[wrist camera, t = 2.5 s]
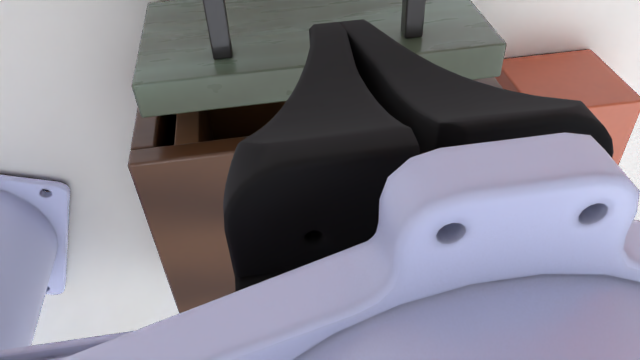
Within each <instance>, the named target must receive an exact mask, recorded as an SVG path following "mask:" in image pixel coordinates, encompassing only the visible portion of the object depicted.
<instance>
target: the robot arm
mask: <svg viewBox="0 0 640 360" xmlns="http://www.w3.org/2000/svg"><path fill="white" fill-rule="evenodd" d="M309 39H310V49H309V53H308V56H307V60H306V63H305V66H304V69H303V71H302V74H301V76H300V79H299V81H298V83H297V85H296V87H295V88H294V90H293V92H292V94H291V95H290V97H289V98H288V100H287V101H286V103H285V104H284V105H283V107H282V108H281V109H280V111H279V112H278V113H277V114H276V115H275V116H274V117H273V118H272V119H271V120H270V121H269V122H268V123H267V124H266V125H265V126H263V127H262V128H261V129H259V130H258V131H256V132H255V133H253V134H252V135H250V136H249V137H247V138H246V139H244V140H242V141H240V142H239V143H238V145H237V147H236V150H235V153H234V156H233V159H232V161H231V165H230V168H229V172H228V176H227V180H226V185H225V191H224V199H223V213H224V231H225V235H226V240H227V244H228V249H229V253H230V258H231V262H232V267H233V271H234V276H235V291H236V292H234V293H231V294H229V295H226V296H224V297H221V298H218V299H216V300H213V301H211V302H208V303H205V304H203V305H200V306H198V307H195V308H192V309H190V310H187V311H185V312H182V313H179V314H177V315H174V316H172V317H169V318H166V319H164V320H161V321H159V322H156V323H153V324H151V325H148V326H146V327H143V328H141V329H138V330H135V331H130V332H123V333H116V334H109V335H102V336H95V337H88V338H81V339H74V340H67V341H61V342H54V343H47V344H40V345H33V346H31V345H32V341H33V338H34V334H35V330H36V327H37V323H38V319H39V316H40V312H41V308H42V305H43V301H44V297H45V294H54V295H55V294H61V293H62V292H64V290H65V286H66V267H67V247H68V226H69V206H70V188H69V187H68V186H67V185H66V184H64V183H61V182H56V181H48V180H40V179H32V178H24V177H16V176H8V175H0V360H640V221H639V220H633V219H634V217H635V215H636V213H637V209H638V200H639V192H640V191H639V189H638V188H637V187H636V186H635V185H634V184H633V182H632V181H631V180H630V179H629V178H628V176H627V175H626V174H625V173H624V172H623V171H622V169H621V168H620V167H619V166H618V165H617V164H616V162H615V161H614V160H613V159H612V157H613V153H614V150H613V142H612V138H611V136H610V134H609V133H608V131H607V129H606V128H605V127H604V125H603V124H602V123H601V122H600V121H599V120H598V119H597V118H596V116H595V115H594V114H593V113H592V112H591V111H590V110H589V109H588V108H587V106H586V105H585V104H584V103H583V102H582V101H579V100H570V99H561V98H552V97H543V96H536V95H530V94H525V93H520V92H515V91H510V90H506V89H502V88H498V87H494V86H491V85H488V84H484V83H481V82H478V81H474V80H472V79H469V78H466V77H463V76H461V75H458V74H456V73H454V72H451V71H449V70H446V69H444V68H442V67H440V66H438V65H436V64H434V63H432V62H430V61H428V60H426V59H425V58H423V57H421V56H419V55H417V54H416V53H414V52H412V51H411V50H409V49H407V48H406V47H404V46H403V45H401V44H400V43H398V42H397V41H395V40H394V39H392V38H391V37H389V36H388V35H386V34H385V33H384V32H382V31H381V30H379V29H378V28H376V27H375V26H374V25H372V24H371V23H369V22H368V21H366V20H364V19H360V20H351V21H341V22H332V23H322V24H313V25H312V27H311V28H310V29H309ZM42 189H47V190H49V191H51V192H46V191H44V190H42Z"/></svg>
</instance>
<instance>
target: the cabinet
mask: <svg viewBox="0 0 640 360" xmlns="http://www.w3.org/2000/svg"><path fill="white" fill-rule="evenodd" d="M474 81H478V82H481V83H484V84H488V85H491V86H494V87H498V88H502V87H501V85H500V84H499V83H498V81H497V80H496V78H495V77H492V78H483V79H474ZM502 89H503V88H502ZM176 116H177V114H171V115H162V116H153V117H145V118H143V117H141V115H140V112H139V108H138V109H137V115H136V121H135V127H134V132H133V138H132V144H131V151H130V156H129V161H128V168H129V171H130V174H131V176H132V179H133V182H134V185H135V188H136V191H137V194H138V196H139V199H140V202H141V205H142V208H143V211H144V214H145V216H146V219H147V222H148V225H149V228H150V231H151V234H152V237H153V239H154V242H155V245H156V248H157V251H158V254H159V257H160V259H161V262H162V265H163V268H164V271H165V274H166V277H167V280H168V282H169V285H170V288H171V291H172V294H173V297H174V300H175V302H176V305H177V308H178V311H179V313H182V312H185V311H187V310H190V309H192V308H195V307H198V306H200V305H203V304H205V303H208V302H211V301H213V300H216V299H218V298H221V297H224V296H226V295H229V294H231V293H234V292H236V291H235V276H234V271H233V267H232V262H231V258H230V253H229V249H228V244H227V240H226V235H225V231H224V213H223V199H224V191H225V185H226V180H227V176H228V172H229V168H230V165H231V161H232V159H233V156H234V153H235V150H236V147H237V145H238V143H239V142H240V141H242V140H244V139H246V138H247V137H249V136H246V137H237V138H229V139H221V140H212V141H204V142H196V143H187V144H179V145H174V141H175V128H176Z"/></svg>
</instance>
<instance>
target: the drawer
mask: <svg viewBox="0 0 640 360" xmlns="http://www.w3.org/2000/svg"><path fill="white" fill-rule="evenodd" d="M360 19H364V20H366V21H368V22H369V23H371V24H372V25H374V26H375V27H376V28H378V29H379V30H381V31H382V32H384V33H385V34H386V35H388V36H389V37H391V38H392V39H394V40H395V41H397V42H398V43H400V44H401V45H403V46H404V47H406V48H407V49H409V50H411V51H412V52H414V53H416V54H417V55H419V56H421V57H423V58H425V59H426V60H428V61H430V62H432V63H434V64H436V65H438V66H440V67H442V68H444V69H446V70H449V71H451V72H454V73H456V74H458V75H461V76H463V77H466V78H469V79H472V80H474V79H483V78H492V77H499V76H500V75H501V70H502V65H503V59H504V54H505V49H506V43H505V41H504V40H503V39H502V38H501V37H500V35H499V34H498V33H497V32H496V31H495V29H494V28H493V27H492V26H491V25H490V23H489V22H488V21H487V20H486V19H485V17H484V16H483V15H482V14H481V13H480V11H479V10H478V9H477V8H476V7H475V5H474V4H473V3H472V2H471V1H470V0H173V1H163V2H153V3H148V6H147V11H146V16H145V21H144V26H143V31H142V36H141V41H140V46H139V51H138V57H137V62H136V67H135V72H134V77H133V82H132V89H133V92H134V95H135V99H136V102H137V105H138V108H139V112H140V115H141V117H143V118H145V117H153V116H162V115H171V114H177V116H176V128H175V141H174V145H179V144H187V143H196V142H204V141H212V140H221V139H229V138H237V137H246V136H250V135H252V134H253V133H255V132H256V131H258V130H259V129H261V128H262V127H263V126H265V125H266V124H267V123H268V122H269V121H270V120H271V119H272V118H273V117H274V116H275V115H276V114H277V113H278V112H279V111H280V109H281V108H282V107H283V105H284V104H285V103H286V101H287V100H288V98H289V97H290V95H291V94H292V92H293V90H294V88H295V87H296V85H297V83H298V81H299V79H300V76H301V74H302V71H303V69H304V66H305V63H306V60H307V56H308V53H309V49H310V39H309V29H310V28H311V27H312V25H313V24H322V23H332V22H341V21H351V20H360Z"/></svg>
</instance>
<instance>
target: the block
mask: <svg viewBox="0 0 640 360" xmlns="http://www.w3.org/2000/svg"><path fill="white" fill-rule="evenodd" d="M495 78H496V80H497V81H498V83H499V84H500V85H501V87H502V88H503V89H506V90H510V91H515V92H520V93H525V94H530V95H536V96H543V97H552V98H561V99H570V100H579V101H582V102H583V103H584V104H585V105H586V106H587V108H588V109H589V110H590V111H591V112H592V113H593V114H594V115H595V116H596V118H597V119H598V120H599V121H600V122H601V123H602V124H603V125H604V127H605V128H606V129H607V131H608V133H609V134H610V136H611V138H612V142H613V150H614V153H613V157H612V159H613V160H614V161H615V162H616V164H617V165H619V162H620V160H621V157H622V155H623V152H624V150H625V147H626V145H627V142H628V140H629V138H630V135H631V133H632V130H633V128H634V125H635V123H636V120H637V118H638V115H639V113H640V96H639V95H638V94H637V93H636V92H635V91H634V90H633V89H632V88H631V87H630V86H629V85H628V84H626V83H625V82H624V81H623V80H622V79H621V78H620V77H619V76H618V75H617V74H616V73H615V72H614V71H613V70H612V69H611V68H610V67H609V66H608V65H606V64H605V63H604V62H603V61H602V60H601V59H600V58H599V57H598V56H597V55H596V54H595V53H594V52H593V51H592V50H590V49H588V50H579V51H570V52H561V53H552V54H544V55H535V56H526V57H517V58H508V59H503V65H502V70H501V75H500V76H499V77H495Z"/></svg>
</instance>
